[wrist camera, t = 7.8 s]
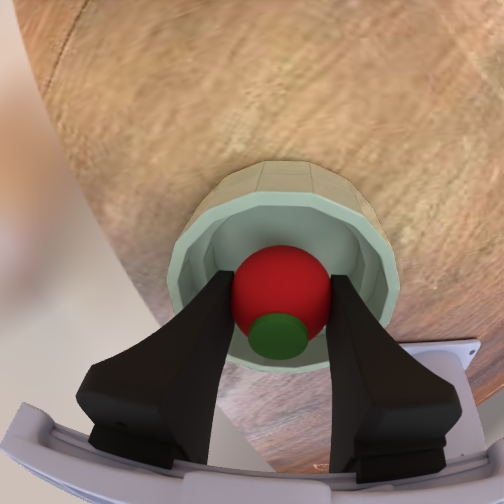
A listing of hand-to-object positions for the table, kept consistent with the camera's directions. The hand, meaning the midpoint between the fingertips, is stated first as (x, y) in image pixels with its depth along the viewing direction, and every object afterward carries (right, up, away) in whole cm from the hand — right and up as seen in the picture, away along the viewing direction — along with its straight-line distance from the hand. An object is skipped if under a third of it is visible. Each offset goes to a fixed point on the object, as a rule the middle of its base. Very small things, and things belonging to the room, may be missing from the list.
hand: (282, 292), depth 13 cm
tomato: (0, +1, +1) cm, 2 cm away
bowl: (0, +2, +3) cm, 3 cm away
